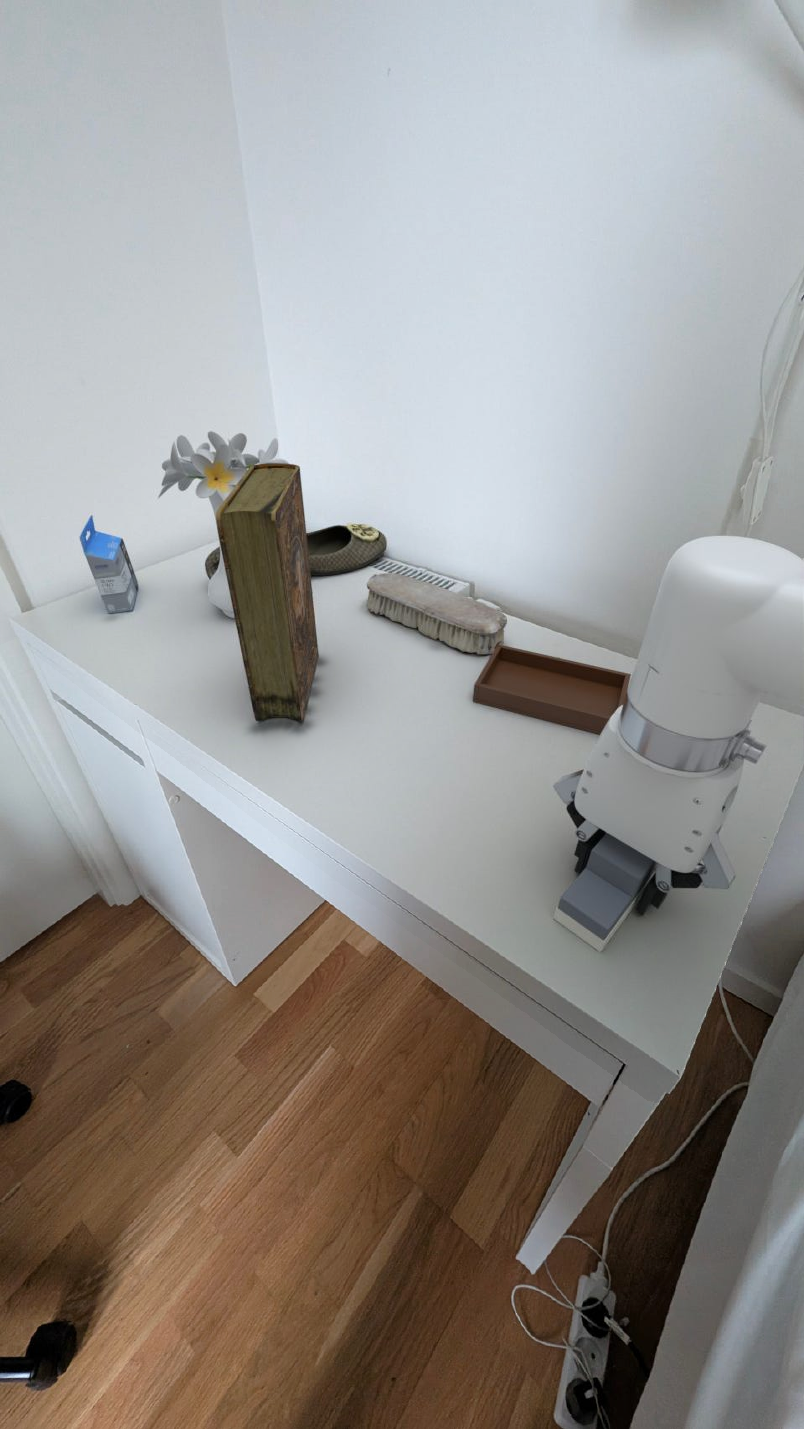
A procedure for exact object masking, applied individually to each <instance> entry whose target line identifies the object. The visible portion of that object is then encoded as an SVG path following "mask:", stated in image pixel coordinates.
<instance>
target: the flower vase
mask: <svg viewBox="0 0 804 1429" xmlns="http://www.w3.org/2000/svg"><path fill="white" fill-rule="evenodd" d="M247 438H248V437H247V435H246V434H244V433H243V432H239V433H237V434H234V435H233V436H232V438H231V439H229V438H227V441H228V442H226V440H225V439H224V438H223V437H222V436H221V435H220V434H219V433H217V432H215V431H212V430H209V431H208V432H207V439H208V440H209V442H203V443H201V444H199V445H198V446H197V448H196V450H194V448H193V446H192V444H191V442H190V441H189V438H187V436H185V435H182V434H180V435H178V436H177V438H176V441H173V443H172V444H171V450H170V457H169V458H168V459H165V460H164V461H163V462H162V464H161V469H163V471H165V472H164V475H163V478H162V481H161V487H162V488H161V490H160V492H159V494H158V497H157V499H160V498H161V497H162V496H163V495H164V494H165V493H166V492H167V491H168V490H169V489H171V488H172V487H174V486H175V485H176V484H177V488H178V490H179V491H180V492H184V491H186V490H187V489H188V488H189V487H190V486H191V485H192V483H193V481H194V480H195V479H198V480H200V481H199V482H198V483H197V485H196V488H195V495H196V496H197V497H198V499H208V500H209V502H210V505H211V508H212V512H213V515H214V519H215V521H216V512H217V510H218V509H219V508H220V506H221V505H222V504H223V502H224V501H225V500H226V498H227V497H228V496H229V494H230V493H231V492H232V490H233V489H234V488H235V486H236V485H237V484H238V482H239V481H240V480H241V478H242V477H243V476H244V474H245V473H246V471H247V470H248V469H249V467H250V466H253V465H258V464H266V463H285V464H290V463H289V462H288V460H286V459H284V458H276V456H277V454H278V450H279V441H278V438H273V439H272V440H271V442H270V444H269V446H268V448H267V449H266V451H265V450H264V449H262V448H260V449H259V450H258V452H257V456H255V455H254V454H250V453H243V452H244V450H245V448H246V446H247V442H248V439H247ZM175 442H176V443H175ZM209 443H210V444H211V445H210V444H209ZM227 443H228V444H227ZM211 446H212V447H213V449H214V450H215V451H210V450H211ZM215 524H216V525H215V526H217V523H216V522H215ZM216 531H217V533H218V530H217V529H216ZM217 537H218V539H219V535H218V534H217ZM218 545H219V546H220V541H219V540H218ZM207 597H208V599H209V601H210V602H211V603H212V604H213V605H214V607H216V608H218V609H219V610H221V611H222V613H223V614H224V615H225V616H226V617H228V618H231V619H235V617H234V612H233V606H232V601H231V596H230V591H229V586H228V581H227V576H226V571H225V566H224V561H223V556H222V551H221V546H220V561H219V566H218V569H217V571H216V572H215V573H214V575H213V576H212V577H211V579H209V581H208V584H207Z"/></svg>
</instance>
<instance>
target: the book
mask: <svg viewBox="0 0 804 1429" xmlns="http://www.w3.org/2000/svg"><path fill="white" fill-rule="evenodd" d="M302 486H303V485H302V476H301V467H300V465H297V464H294V463H293V464H292V463H289V464H285V463H266V464H259V463H258V464H255V465H253V466H250V467H249V468H248V469H247V471H246V473H245V474H244V476H243V477H242V478H241V480H240V481H239V482H238V484H237V485H236V486H235V488H234V489H233V490H232V492H231V493H230V494H229V496H228V497H227V498H226V500H225V501H224V502H223V504H222V505H221V506H220V508H219V509H218V510H217V512H216V520H215V524H216V523H217V525H216V531H217V530H218V532H217V536H218V535H219V538H218V542H219V541H220V545H219V546H221V551H222V556H223V561H224V566H225V571H226V576H227V581H228V586H229V591H230V596H231V601H232V606H233V612H234V617H235V618H234V621H235V622H234V623H235V626H236V631H237V637H238V641H239V646H240V651H241V656H242V662H243V666H244V671H245V672H244V673H245V677H246V682H247V686H248V687H247V688H248V691H249V697H250V701H251V702H250V703H251V707H252V712H253V716H254V719H255V721H256V722H261V721H264V720H266V719H267V720H268V719H270V718H288V719H293V720H295V721H298V722H299V723H303V722H305V721H304V720H305V717H306V713H307V709H308V705H309V701H310V696H311V693H312V687H313V684H314V679H315V674H316V670H317V665H318V663H319V657H320V655H319V646H318V645H319V644H318V634H317V625H316V616H315V615H316V614H315V606H314V605H315V604H314V596H313V586H312V584H313V583H312V575H311V574H310V564H309V554H308V544H307V535H306V533H307V526H306V525H307V524H306V516H305V507H304V497H303V487H302Z"/></svg>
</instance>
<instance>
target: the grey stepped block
mask: <svg viewBox="0 0 804 1429" xmlns="http://www.w3.org/2000/svg"><path fill="white" fill-rule="evenodd" d="M654 874H655V861H654V860H652V859H651V858H649V857H647V856H645V855H644V854H642V853H640V852H639V851H637V850H635V849H634V848H632V847H630V846H629V845H627V844H625V843H624V842H622V841H620V840H619V839H617V838H615V837H614V836H612V835H610V834H609V833H606V834H605V836H604V837H603V838H602V839H601V840H600V841H599V842H598V844H597V845H596V846H595V847H594V848H593V849H592V851H591V854H590V857H589V860H588V863H587V866H586V868H585V869H584V870H583V872H582V873H581V874H580V875H579V874H578V876H577V877H576V878H575V880H574V881H573V882H572V883H571V884H570V886H569V887H568V888H567V889H566V890H565V891H564V893H563V894H562V895H561V896H560V898H559V901H558V905H557V906H556V908H555V911H554V914H553V919H554V920H555V921H556V922H558V923H559V924H560V925H562V926H563V927H565V928H566V929H567V930H568V931H570V932H571V933H573V934H574V935H575V936H577V937H578V938H580V939H581V940H582V941H584V942H585V943H587V945H589V946H591V947H592V948H593V949H595V950H596V951H598V952H599V953H601V952H602V951H603V950H604V948H605V947H606V945H607V944H608V943H609V941H610V940H611V939H612V937H613V936H614V934H616V932H617V930H618V929H619V927H620V926H621V924H622V923H623V922H624V921H625V919H626V918H627V917H628V915H630V912H631V911H632V910H633V908H634V907H635V906H636V904H638V902H639V900H640V898H641V896H642V894H643V891H644V889H645V887H646V885H647V883H648V882H649V880H650V879H651V878H652V876H653V875H654Z"/></svg>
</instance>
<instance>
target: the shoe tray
mask: <svg viewBox="0 0 804 1429" xmlns="http://www.w3.org/2000/svg"><path fill="white" fill-rule="evenodd" d="M631 677H632V673H627V672H623V671H619V670H614V669H611V668H606V667H601V666H596V665H593V664H587V663H583V662H578V661H574V660H570V659H565V658H561V657H558V656H552V655H548V654H543V653H540V652H534V651H530V650H526V649H521V648H515V647H513V646H508V645H504V644H502V645H499V644H498V645H497V644H496V646H495V650H494V652H493V653H491V654H490V657H489V659H488V660H487V662H486V664H485V666H484V667H483V669H482V671H481V672H480V674H479V676H478V678H477V680H476V681H475V682H474V685H473V693H472V702H474V703H477V704H481V705H485V706H489V707H493V708H497V709H500V710H503V711H504V710H505V711H508V712H512V713H516V714H520V715H522V716H527V717H531V718H535V719H538V720H543V721H546V722H550V723H555V724H557V725H561V726H565V727H569V728H574V729H577V730H580V731H585V732H588V733H592V734H595V735H600V734H601V732H602V731H603V729H604V727H605V726H606V724H607V722H608V721H609V719H610V718H611V716H612V715H613V714H614V713H615V711H616V710H617V709H618V708H619V707H620V706H622V705H623V704H624V701H625V697H626V694H627V691H628V688H629V684H630V681H631Z"/></svg>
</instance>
